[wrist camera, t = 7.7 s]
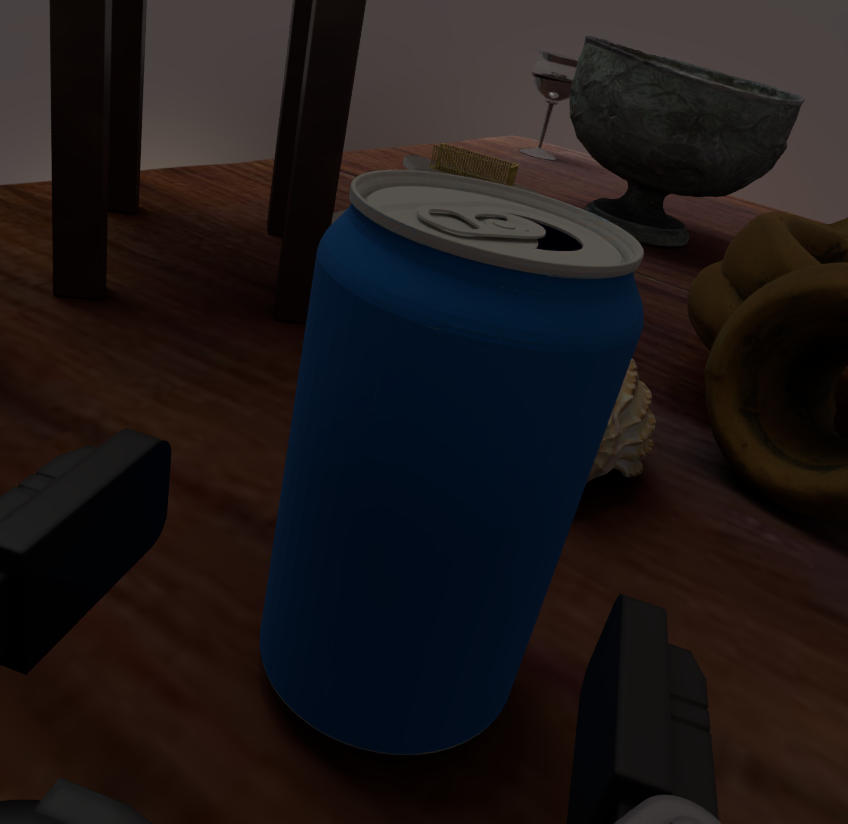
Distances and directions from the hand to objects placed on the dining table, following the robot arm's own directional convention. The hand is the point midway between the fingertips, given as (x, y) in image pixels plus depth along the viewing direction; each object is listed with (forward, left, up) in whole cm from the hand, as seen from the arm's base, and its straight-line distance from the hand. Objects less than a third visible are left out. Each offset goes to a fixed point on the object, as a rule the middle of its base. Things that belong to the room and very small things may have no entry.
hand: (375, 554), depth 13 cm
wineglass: (+36, +91, -7) cm, 99 cm away
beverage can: (+2, +4, -7) cm, 8 cm away
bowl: (+35, +57, -7) cm, 67 cm away
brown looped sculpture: (+27, +22, -7) cm, 35 cm away
